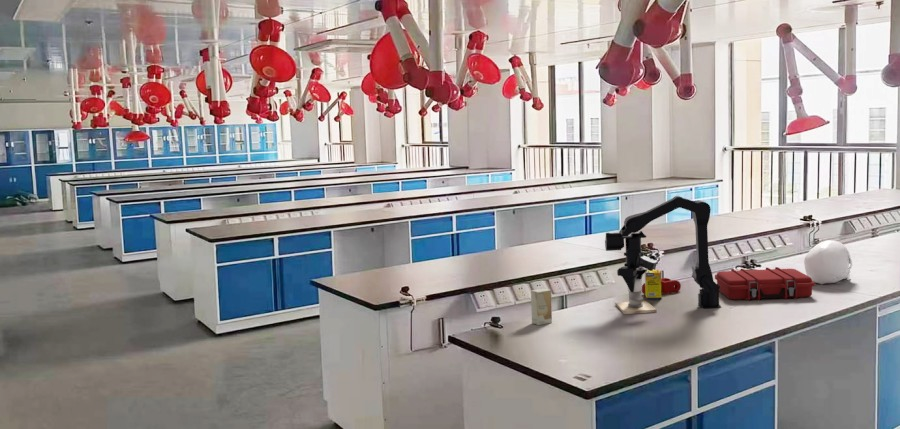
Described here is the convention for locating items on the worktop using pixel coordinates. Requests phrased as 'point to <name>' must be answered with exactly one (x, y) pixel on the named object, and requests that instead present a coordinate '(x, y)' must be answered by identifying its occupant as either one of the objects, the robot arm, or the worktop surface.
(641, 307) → the beige square board
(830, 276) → the lumpy white sphere
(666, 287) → the mechanical linkage
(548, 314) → the skincare box
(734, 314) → the worktop surface
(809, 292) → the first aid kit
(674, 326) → the worktop surface
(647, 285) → the supplement box
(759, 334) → the worktop surface
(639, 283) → the cap
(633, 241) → the robot arm
